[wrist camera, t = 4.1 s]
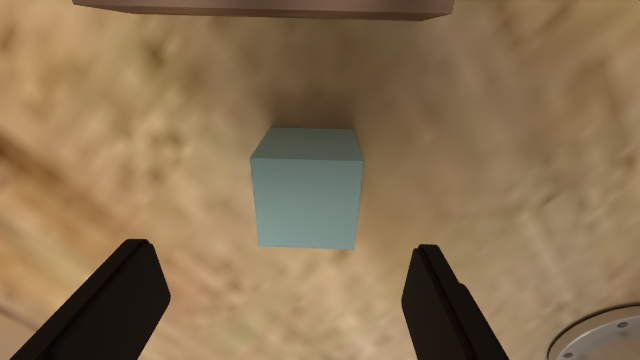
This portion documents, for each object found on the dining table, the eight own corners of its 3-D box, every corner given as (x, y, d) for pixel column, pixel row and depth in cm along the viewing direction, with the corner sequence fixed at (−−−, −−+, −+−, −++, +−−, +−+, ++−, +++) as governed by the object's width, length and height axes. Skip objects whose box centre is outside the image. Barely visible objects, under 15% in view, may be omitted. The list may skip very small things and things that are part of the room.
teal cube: (353, 128, 18) (363, 161, 13) (347, 199, 20) (354, 249, 15) (270, 126, 18) (250, 157, 13) (275, 197, 20) (258, 246, 15)
